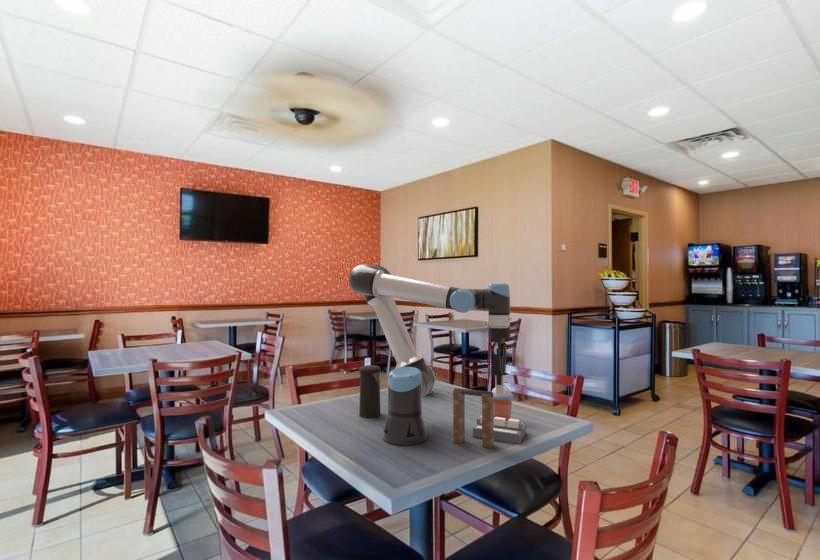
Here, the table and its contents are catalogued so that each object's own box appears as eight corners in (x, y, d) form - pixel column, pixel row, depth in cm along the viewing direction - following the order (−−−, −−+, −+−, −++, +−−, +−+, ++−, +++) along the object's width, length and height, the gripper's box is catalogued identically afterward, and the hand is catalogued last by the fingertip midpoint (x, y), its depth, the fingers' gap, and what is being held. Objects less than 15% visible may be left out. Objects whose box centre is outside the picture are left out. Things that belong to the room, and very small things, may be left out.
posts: (453, 442, 146) (452, 390, 146) (456, 438, 149) (456, 388, 149) (490, 448, 140) (490, 394, 140) (493, 444, 143) (493, 392, 143)
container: (383, 416, 174) (383, 366, 175) (361, 419, 171) (361, 368, 171) (377, 410, 182) (377, 363, 183) (356, 413, 179) (356, 364, 179)
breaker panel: (472, 436, 151) (472, 422, 151) (482, 426, 161) (482, 413, 161) (519, 443, 144) (519, 428, 144) (526, 432, 154) (526, 418, 154)
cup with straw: (496, 426, 162) (496, 378, 162) (485, 419, 170) (485, 373, 171) (518, 424, 164) (517, 376, 164) (506, 417, 173) (506, 372, 173)
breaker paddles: (480, 423, 154) (480, 416, 154) (481, 421, 157) (481, 414, 157) (518, 428, 149) (518, 421, 149) (519, 426, 151) (519, 419, 151)
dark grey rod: (452, 393, 147) (452, 388, 147) (454, 392, 148) (454, 387, 148) (492, 398, 141) (492, 392, 141) (494, 396, 142) (494, 391, 142)
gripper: (505, 328, 146) (506, 399, 145) (513, 325, 157) (514, 390, 157) (483, 328, 149) (484, 396, 148) (493, 325, 161) (494, 388, 160)
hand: (500, 393), depth 153 cm, fingers closed
